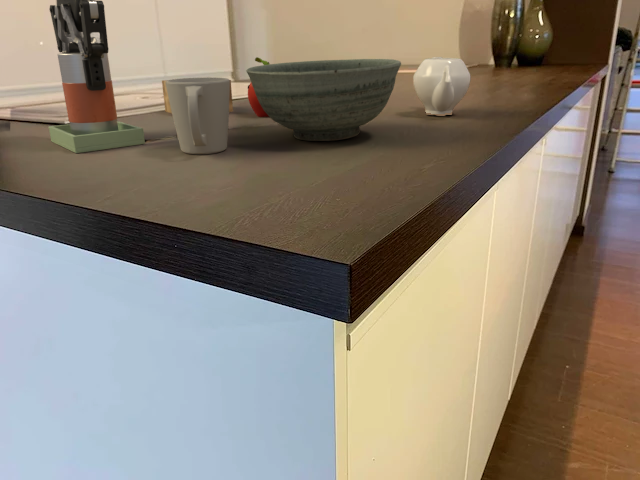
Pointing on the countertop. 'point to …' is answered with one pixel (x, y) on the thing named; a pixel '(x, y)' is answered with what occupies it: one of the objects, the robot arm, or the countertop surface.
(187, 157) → the countertop surface
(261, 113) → the red bell pepper
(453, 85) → the teapot
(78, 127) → the can
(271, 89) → the bowl
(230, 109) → the holder
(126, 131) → the tray
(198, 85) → the cup
